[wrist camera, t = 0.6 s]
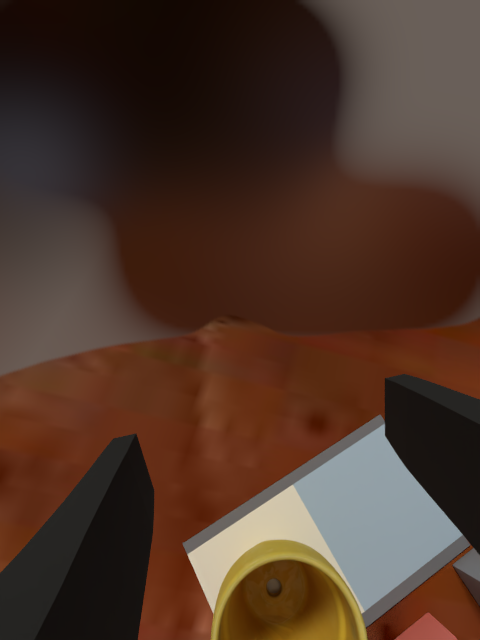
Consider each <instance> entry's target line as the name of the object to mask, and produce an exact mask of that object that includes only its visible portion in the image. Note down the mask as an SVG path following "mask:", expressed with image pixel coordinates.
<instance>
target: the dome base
mask: <svg viewBox="0 0 480 640" xmlns="http://www.w3.org/2000/svg"><path fill="white" fill-rule="evenodd" d="M452 566H453V567H454V569H455V570H456V572H457V573H458V575H459V576H460V578H461V579H462V581H463V582H464V584H465V585H466V587H467V588H468V590H469V591H470V593H471V594H472V596H473V597H474V599H475V600H476V602H477V603H478V605H479V606H480V555H479V554H478V553H477V551H476V550H475V549H474V548H473V549H472V550H471V551H469V552H468V553H467V554H465V555H464V556H463V557H462V558H460V559H459V560H458V561H457V562H455V563H454V564H453V565H452Z"/></svg>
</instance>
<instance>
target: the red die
mask: <svg viewBox="0 0 480 640" xmlns="http://www.w3.org/2000/svg"><path fill="white" fill-rule="evenodd" d="M394 640H457V638H456V637H455V636H454V635H453V634H452V633H451V632H449V631H448V630H447V629H446V628H445V627H444V626H443V625H442V624H441V623H440V622H438V621H437V620H436V619H435V618H434V617H433V616H432V615H431V614H430V613H429V612H428V613H426V614H425V615H424V616H423V617H421V618H420V619H419V620H418V621H417V622H415V623H414V624H413V625H412V626H410V627H409V628H408V629H407V630H406V631H404V632H403V633H402V634H401V635H399V636H398V637H397V638H396V639H394Z"/></svg>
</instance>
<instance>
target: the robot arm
mask: <svg viewBox="0 0 480 640" xmlns="http://www.w3.org/2000/svg"><path fill="white" fill-rule="evenodd" d="M385 437H386V438H387V440H388V441H389V443H390V444H391V446H392V448H393V449H394V451H395V452H396V454H397V455H398V457H399V458H400V460H401V461H402V463H403V464H404V466H405V467H406V468H407V469H408V471H409V472H410V473H411V474H412V475H413V477H414V478H415V479H416V480H417V481H418V483H419V484H420V485H421V486H422V487H423V489H424V490H425V491H426V492H427V493H428V495H429V496H430V497H431V498H432V499H433V500H434V502H435V503H436V504H437V505H438V506H439V507H440V509H441V510H442V511H443V512H444V513H445V514H446V516H447V517H448V518H449V519H450V520H451V521H452V523H453V524H454V525H455V526H456V527H457V528H458V530H459V531H460V532H461V533H462V534H463V536H464V537H465V538H466V539H467V540H468V541H469V543H470V544H471V545H472V546H473V548H474V549H475V550H476V551H477V553H478V554H479V555H480V400H479V399H476V398H474V397H471V396H468V395H465V394H462V393H460V392H457V391H454V390H451V389H448V388H446V387H443V386H440V385H437V384H434V383H432V382H429V381H426V380H423V379H420V378H417V377H413V376H410V375H406V374H402V375H398V376H393V377H389V378H385ZM153 520H154V488H153V485H152V482H151V479H150V476H149V473H148V469H147V466H146V463H145V460H144V457H143V454H142V450H141V447H140V444H139V441H138V438H137V435H136V434H132V435H128V436H123V437H119V438H114V439H113V440H112V441H111V442H110V443H109V445H108V446H107V447H106V448H105V450H104V451H103V452H102V454H101V455H100V456H99V457H98V459H97V460H96V461H95V463H94V464H93V465H92V467H91V468H90V469H89V470H88V472H87V473H86V474H85V476H84V477H83V478H82V479H81V481H80V482H79V483H78V484H77V486H76V487H75V488H74V489H73V491H72V492H71V493H70V494H69V496H68V497H67V498H66V499H65V501H64V502H63V503H62V504H61V505H60V507H59V508H58V509H57V510H56V511H55V512H54V514H53V515H52V516H51V517H50V518H49V519H48V520H47V522H46V523H45V524H44V525H43V526H42V527H41V529H40V530H39V531H38V532H37V533H36V534H35V535H34V537H33V538H32V539H31V540H30V541H29V542H28V544H27V545H26V546H25V547H24V548H23V549H22V550H21V551H20V553H19V554H18V555H17V556H16V557H15V558H14V559H13V560H12V561H11V562H10V563H9V564H8V565H7V566H6V568H5V569H4V570H3V571H2V572H1V573H0V640H138V633H139V626H140V619H141V612H142V605H143V598H144V591H145V585H146V578H147V571H148V564H149V557H150V549H151V542H152V535H153Z"/></svg>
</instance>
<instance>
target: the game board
mask: <svg viewBox="0 0 480 640" xmlns="http://www.w3.org/2000/svg"><path fill="white" fill-rule="evenodd" d="M266 540H292V541H296V542H300V543H303V544H305V545H307V546H309V547H311V548H313V549H314V550H316V551H317V552H318V553H320V554H321V555H322V556H323V557H324V558H325V559H326V560H327V561H328V562H329V563H330V564H331V565H332V566H333V567H334V568H335V570H336V571H337V572H338V573H339V575H340V576H341V577H342V578H343V580H344V581H345V583H346V584H347V586H348V587H349V589H350V590H351V592H352V594H353V596H354V598H355V600H356V601H357V604H358V606H359V608H360V611H361V614H362V617H363V620H364V623H365V627H368V626H369V625H370V624H371V623H373V622H374V621H375V620H376V619H378V618H379V617H380V616H381V615H383V614H384V613H385V612H386V611H388V610H389V609H390V608H392V607H393V606H394V605H395V604H397V603H398V602H399V601H400V600H402V599H403V598H404V597H405V596H407V595H408V594H409V593H410V592H412V591H413V590H414V589H415V588H417V587H418V586H419V585H421V584H422V583H423V582H424V581H426V580H427V579H428V578H429V577H431V576H432V575H433V574H434V573H436V572H437V571H438V570H439V569H441V568H442V567H443V566H444V565H446V564H447V563H448V562H450V561H451V560H452V559H453V558H455V557H456V556H457V555H458V554H460V553H461V552H462V551H463V550H465V549H466V548H467V547H468V546H470V544H469V543H468V541H467V540H466V538H465V537H464V536H463V534H462V533H461V532H460V531H459V530H458V528H457V527H456V526H455V525H454V524H453V523H452V521H451V520H450V519H449V518H448V517H447V516H446V514H445V513H444V512H443V511H442V510H441V509H440V507H439V506H438V505H437V504H436V503H435V502H434V500H433V499H432V498H431V497H430V496H429V495H428V493H427V492H426V491H425V490H424V489H423V487H422V486H421V485H420V484H419V483H418V481H417V480H416V479H415V478H414V477H413V475H412V474H411V473H410V472H409V471H408V469H407V468H406V467H405V466H404V464H403V463H402V461H401V460H400V458H399V457H398V455H397V454H396V452H395V451H394V449H393V448H392V446H391V444H390V443H389V441H388V440H387V438H386V437H385V421H384V420H383V418H382V417H381V415H378V416H377V417H375V418H374V419H372V420H371V421H369V422H368V423H366V424H365V425H363V426H362V427H360V428H359V429H357V430H355V431H354V432H352V433H351V434H349V435H348V436H346V437H345V438H343V439H342V440H340V441H339V442H337V443H336V444H334V445H333V446H331V447H329V448H328V449H326V450H325V451H323V452H322V453H320V454H319V455H317V456H316V457H314V458H313V459H311V460H310V461H308V462H307V463H305V464H303V465H302V466H300V467H299V468H297V469H296V470H294V471H293V472H291V473H290V474H288V475H287V476H285V477H284V478H282V479H281V480H279V481H278V482H276V483H274V484H273V485H271V486H270V487H268V488H267V489H265V490H264V491H262V492H261V493H259V494H258V495H256V496H255V497H253V498H252V499H250V500H248V501H247V502H245V503H244V504H242V505H241V506H239V507H238V508H236V509H235V510H233V511H232V512H230V513H229V514H227V515H226V516H224V517H222V518H221V519H219V520H218V521H216V522H215V523H213V524H212V525H210V526H209V527H207V528H206V529H204V530H203V531H201V532H200V533H198V534H197V535H195V536H193V537H192V538H190V539H189V540H187V541H186V542H184V543H183V546H184V548H185V550H186V552H187V555H188V557H189V559H190V561H191V564H192V566H193V568H194V571H195V573H196V575H197V577H198V580H199V582H200V584H201V586H202V589H203V591H204V593H205V596H206V598H207V600H208V602H209V605H210V607H211V609H212V611H213V614H214V610H215V605H216V600H217V597H218V593H219V590H220V587H221V584H222V582H223V580H224V578H225V576H226V574H227V573H228V571H229V569H230V568H231V567H232V565H233V564H234V563H235V562H236V561H237V560H238V558H239V557H240V556H242V555H243V554H244V553H245V552H246V551H248V550H249V549H251V548H253V547H254V546H256V545H257V544H259V543H261V542H263V541H266ZM280 587H281V584H280V582H279V581H278V580H277V579H271V580H269V582H268V583H267V589H268V591H269V592H270V593H277V592H278V591H279V590H280Z"/></svg>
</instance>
